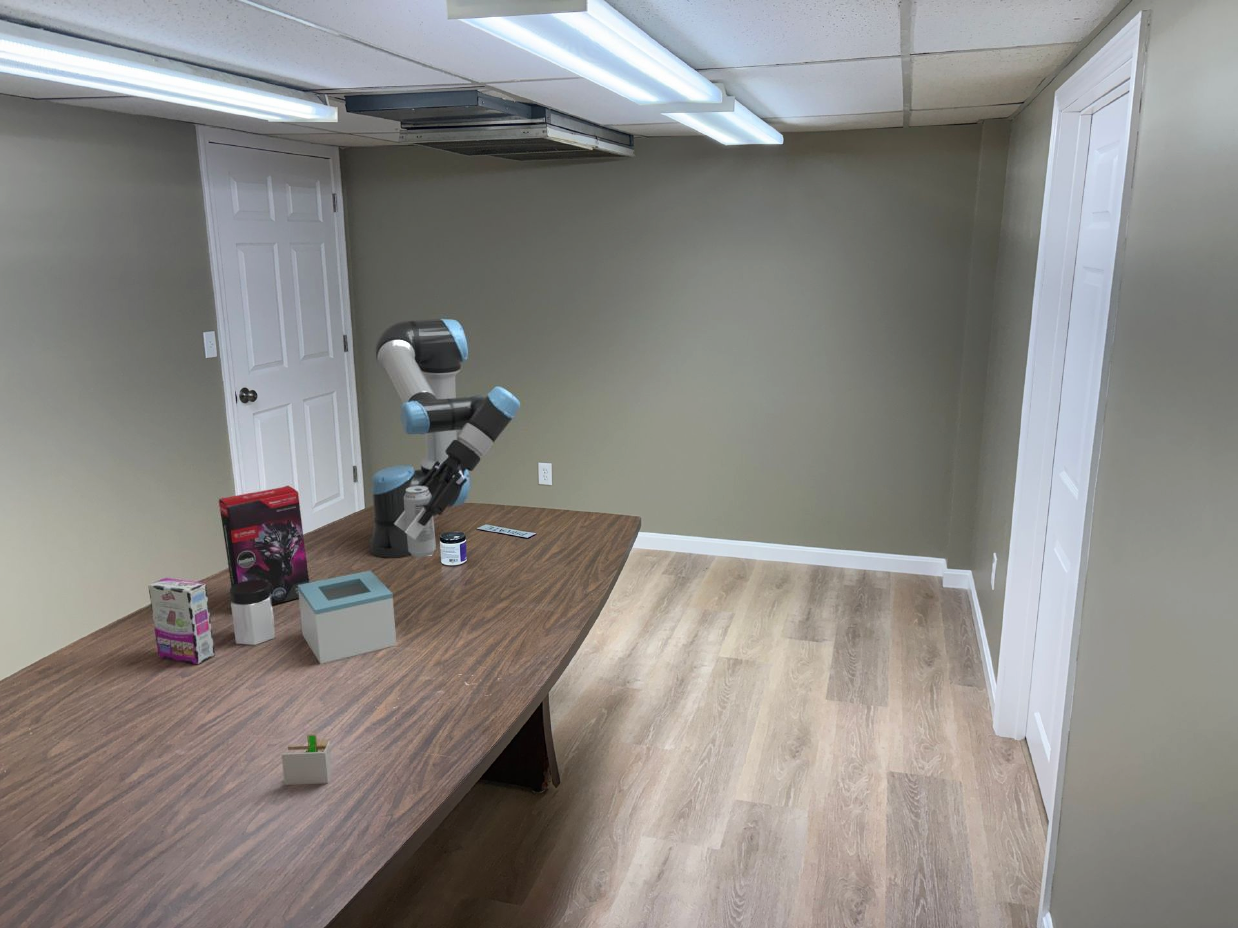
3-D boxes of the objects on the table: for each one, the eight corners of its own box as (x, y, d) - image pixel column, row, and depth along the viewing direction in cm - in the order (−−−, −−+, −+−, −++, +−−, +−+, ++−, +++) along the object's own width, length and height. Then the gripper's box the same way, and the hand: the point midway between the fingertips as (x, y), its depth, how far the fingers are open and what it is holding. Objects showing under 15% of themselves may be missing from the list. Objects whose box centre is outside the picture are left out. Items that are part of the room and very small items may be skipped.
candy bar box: (216, 654, 185) (207, 582, 181) (198, 665, 180) (188, 591, 176) (176, 647, 188) (166, 576, 184) (157, 657, 184) (146, 584, 180)
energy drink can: (426, 546, 199) (421, 483, 195) (441, 552, 195) (436, 488, 191) (403, 553, 195) (397, 489, 191) (418, 560, 191) (412, 494, 187)
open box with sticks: (292, 772, 144) (287, 729, 142) (334, 770, 144) (330, 727, 143) (285, 787, 140) (280, 742, 138) (328, 785, 141) (323, 741, 139)
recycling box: (302, 635, 194) (297, 585, 191) (374, 619, 202) (370, 570, 199) (320, 663, 180) (315, 610, 177) (396, 645, 189) (392, 593, 186)
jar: (275, 642, 190) (269, 591, 187) (234, 648, 188) (228, 596, 185) (275, 626, 199) (270, 576, 196) (237, 631, 196) (230, 581, 193)
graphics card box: (240, 615, 204) (226, 504, 198) (230, 606, 209) (216, 497, 203) (311, 596, 215) (301, 490, 209) (300, 588, 220) (289, 484, 214)
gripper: (498, 466, 190) (432, 552, 186) (463, 449, 205) (402, 529, 201) (474, 446, 186) (406, 534, 181) (440, 430, 201) (377, 511, 197)
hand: (404, 531), depth 191 cm, fingers closed on energy drink can, 6 cm apart
